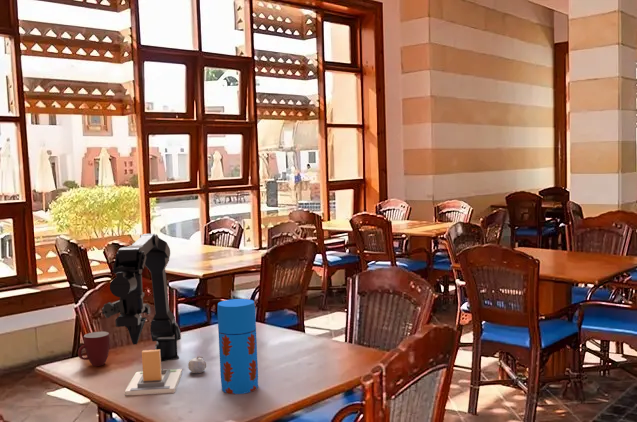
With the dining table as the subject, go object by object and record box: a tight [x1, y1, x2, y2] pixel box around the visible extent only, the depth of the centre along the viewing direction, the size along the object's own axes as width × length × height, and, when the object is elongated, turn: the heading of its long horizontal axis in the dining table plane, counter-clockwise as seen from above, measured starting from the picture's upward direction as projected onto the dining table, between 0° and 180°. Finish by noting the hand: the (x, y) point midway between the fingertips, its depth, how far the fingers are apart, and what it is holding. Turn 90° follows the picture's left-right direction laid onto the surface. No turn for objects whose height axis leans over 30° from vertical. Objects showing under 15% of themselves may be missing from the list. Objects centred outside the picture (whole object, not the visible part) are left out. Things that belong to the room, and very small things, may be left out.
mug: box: [77, 331, 111, 367], centre depth 227 cm, size 10×8×10 cm
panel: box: [124, 368, 183, 396], centre depth 206 cm, size 18×14×2 cm
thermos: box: [217, 298, 259, 395], centre depth 199 cm, size 11×11×25 cm
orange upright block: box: [141, 349, 162, 383], centre depth 202 cm, size 4×5×10 cm
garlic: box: [187, 355, 207, 374], centre depth 216 cm, size 6×5×5 cm
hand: (135, 344), depth 200 cm, fingers closed
